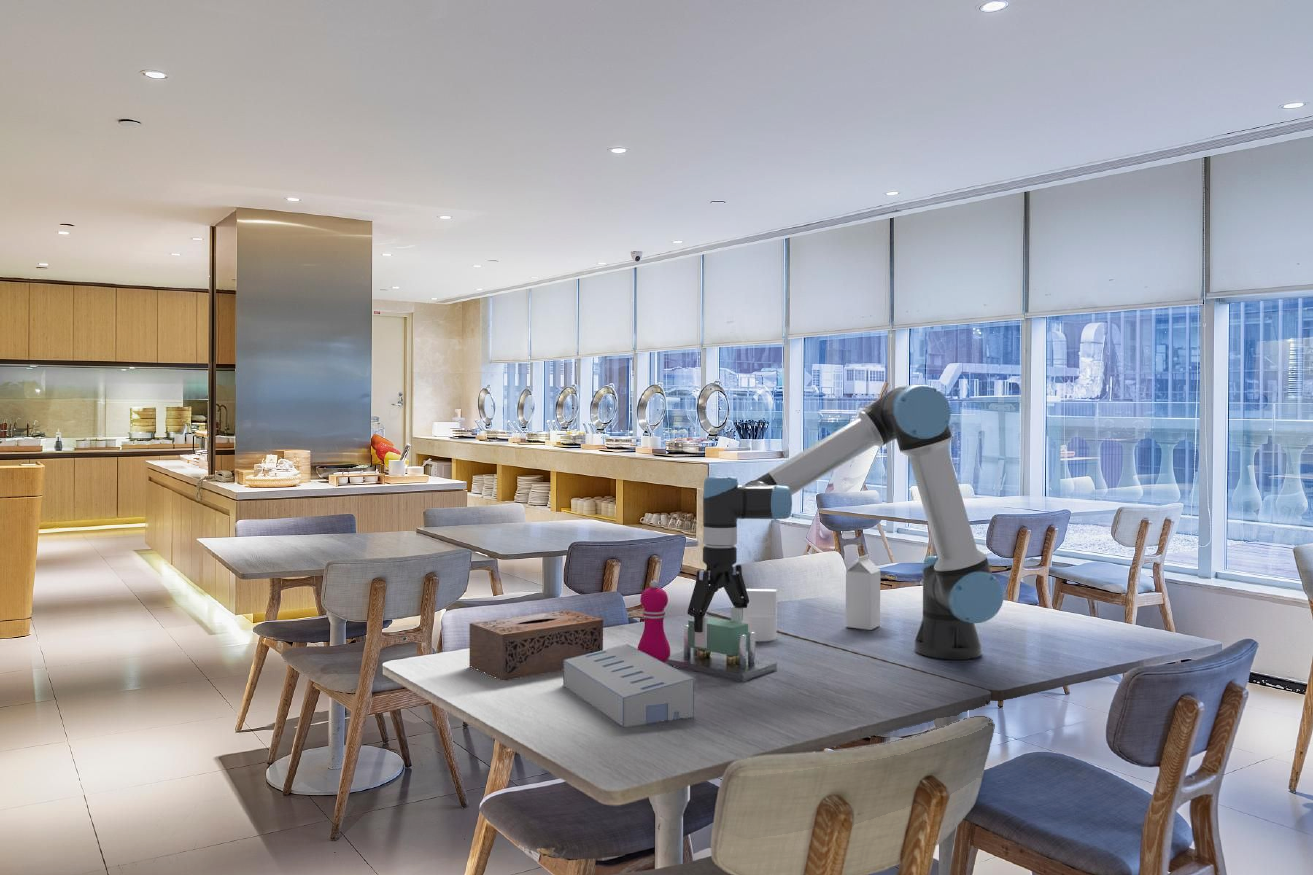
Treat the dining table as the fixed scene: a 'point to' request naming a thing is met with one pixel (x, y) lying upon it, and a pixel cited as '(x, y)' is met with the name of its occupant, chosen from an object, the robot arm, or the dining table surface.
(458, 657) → the dining table surface
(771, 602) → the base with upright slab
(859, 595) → the milk carton
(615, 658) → the warehouse
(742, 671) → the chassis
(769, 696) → the dining table surface
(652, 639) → the pepper mill
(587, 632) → the tissue box cover
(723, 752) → the dining table surface
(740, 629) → the mint green rectangular block
